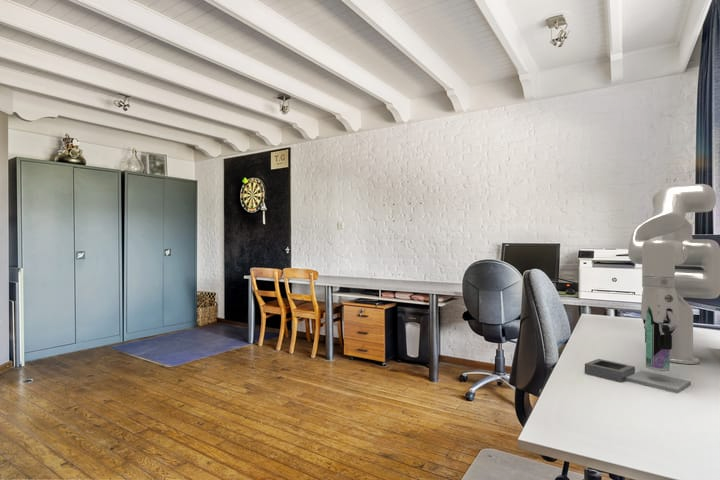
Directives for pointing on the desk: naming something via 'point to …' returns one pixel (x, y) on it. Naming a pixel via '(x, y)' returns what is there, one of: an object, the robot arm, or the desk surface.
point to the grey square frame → (609, 370)
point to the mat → (659, 381)
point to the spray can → (655, 346)
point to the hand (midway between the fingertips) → (658, 345)
